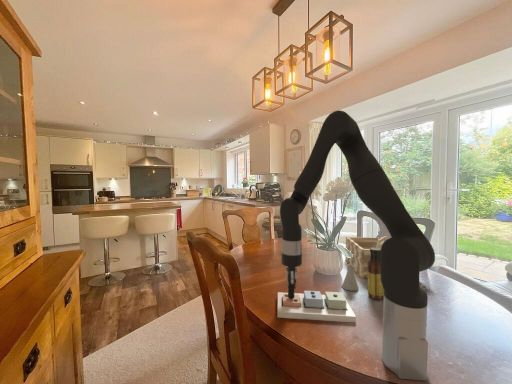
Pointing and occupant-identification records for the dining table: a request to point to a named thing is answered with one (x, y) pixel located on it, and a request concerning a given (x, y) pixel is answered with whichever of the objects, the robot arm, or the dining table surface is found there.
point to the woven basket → (360, 253)
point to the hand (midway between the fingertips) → (291, 297)
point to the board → (314, 311)
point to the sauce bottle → (375, 275)
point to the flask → (350, 279)
